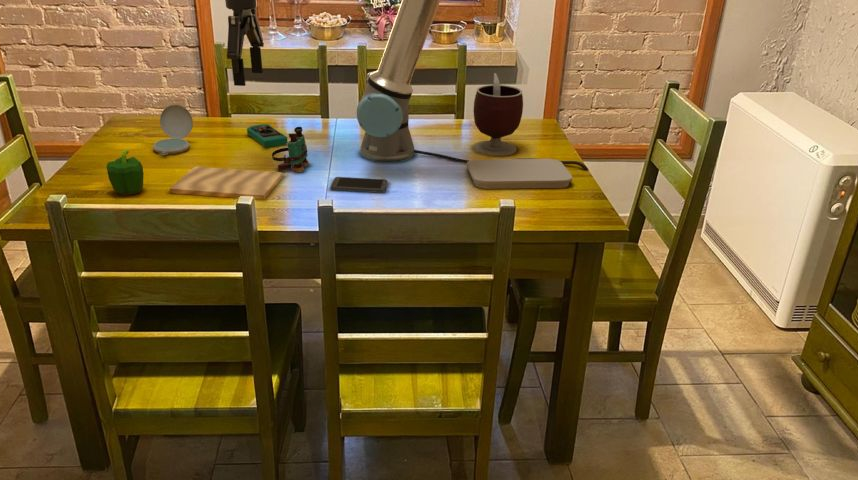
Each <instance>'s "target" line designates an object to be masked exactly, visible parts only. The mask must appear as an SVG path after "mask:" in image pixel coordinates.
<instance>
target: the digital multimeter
mask: <svg viewBox="0 0 858 480" xmlns="http://www.w3.org/2000/svg"><path fill="white" fill-rule="evenodd" d="M246 134H247V135H248V136H249V137H250V138H251V139H253V140H254V141H256V142H257V143H258V144H260V146H262V147H264V148H265V149H269V148H276V147H282V146H286V145H288V142H289V141H288V136H286V135H285V134H283V133H281V132H280V131H279V130H277V129H275V128H274V127H273V126H272V125H270V124H268V123H263V124H255V125H251V126H248V127H247V128H246Z"/></svg>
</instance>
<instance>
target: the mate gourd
mask: <svg viewBox="0 0 858 480" xmlns="http://www.w3.org/2000/svg"><path fill="white" fill-rule="evenodd" d="M523 110H524V97H523V90H522V89H521V88H518V87H515V86H511V85H503V84H501V83H500V79H499V76H498V74H497V72H494V73H493V83H492V84H486V85H482V86H479V87H477V88H476V93H475V95H474V100H473V120H474V125H475V126H476V128H477V130H478V131H479V133H481V134H483V135H485V136H488V137H490V140H481V141H477V142H476V143H474V145H473V150H474V151H475V152H476V153H479V154H481V155H484V156H488V157H489V156H490V157H505V156H506V157H507V156H511V155H513V154H515V153H516V152H517V147H516V145H515V144H513V143H510V142H508V141H504V140H502V139H501V138H504V137H507V136H510V135H512V134H514V133H515V131H516V130H517V129H518V128H519V127H520V123H521V121H522V117H523Z"/></svg>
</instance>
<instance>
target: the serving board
mask: <svg viewBox="0 0 858 480" xmlns="http://www.w3.org/2000/svg"><path fill="white" fill-rule="evenodd" d="M283 177H284V174H283V172H281V171H279V172H278V171H268V170H267V171H265V170H254V169H252V170H251V169H240V168H239V169H235V168H226V167H225V168H224V167H223V168H222V167H208V166H196V165H195V166H193V168H191V169H189V171H188V172H187V173H186V174H184V175H183V176H182V177H181V178H180V179H178V180H177V181H176V182H175V183H174V184H173V185H172V186H171V187H170V188H169V194H176V195H177V194H178V195H192V196H207V197H218V198H219V197H220V198H233V199H239V198H238V197H240V196H253V197H254V198H255V199H254V200H259V201H264V200H265V199H266V198H267V197H268V196H269V195H270V193H271V192H272V191H273V189H274V188H275V187H276V186H277V185H278V184H279V182H280V181H281V179H282V178H283Z"/></svg>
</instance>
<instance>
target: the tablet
mask: <svg viewBox="0 0 858 480" xmlns="http://www.w3.org/2000/svg"><path fill="white" fill-rule="evenodd" d="M469 160H470V161H468V162H467V163H466V167H467V171H468V173H469V175H470V178H471V180H472V182H473V185H474V186H475V187H476V188H478V189H483V190H485V189H486V190H487V189H488V190H489V189H490V190H491V189H492V190H493V189H499V190H500V189H563V188H568V187H569V184H570V182H572V181H573V175H572V174H571V172H570V170H568V168H567V167H566V166H565V164H563V163H562V162H560V161H561V160H558V159H554V158H537V159H517V158H489V159H488V158H487V159H486V158H485V159H483V158H481V159H480V158H479V159H469Z"/></svg>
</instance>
